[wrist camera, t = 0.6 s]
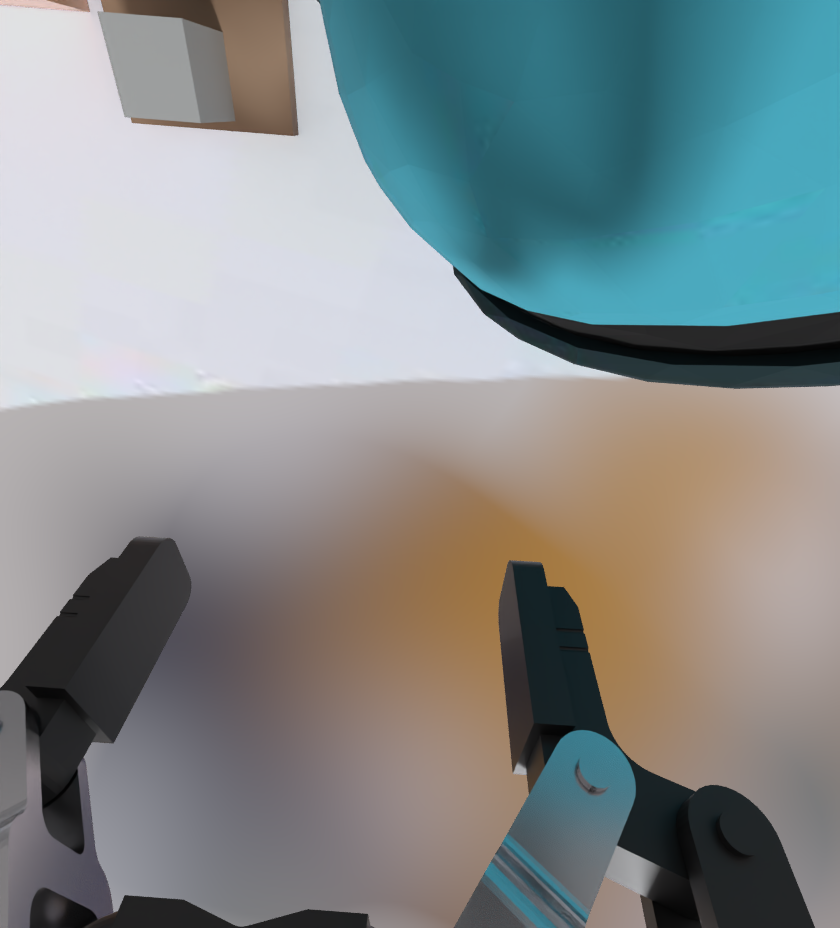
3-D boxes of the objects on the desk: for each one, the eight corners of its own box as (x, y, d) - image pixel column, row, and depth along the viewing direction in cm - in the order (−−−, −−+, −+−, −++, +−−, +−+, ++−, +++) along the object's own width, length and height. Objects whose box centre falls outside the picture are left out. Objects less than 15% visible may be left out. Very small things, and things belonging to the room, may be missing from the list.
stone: (151, 26, 26) (97, 11, 22) (222, 32, 26) (181, 18, 22) (170, 116, 28) (124, 117, 24) (235, 121, 28) (200, 123, 24)
